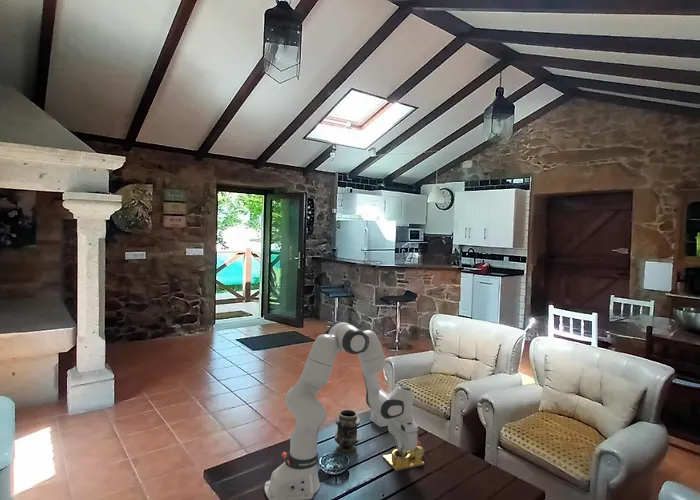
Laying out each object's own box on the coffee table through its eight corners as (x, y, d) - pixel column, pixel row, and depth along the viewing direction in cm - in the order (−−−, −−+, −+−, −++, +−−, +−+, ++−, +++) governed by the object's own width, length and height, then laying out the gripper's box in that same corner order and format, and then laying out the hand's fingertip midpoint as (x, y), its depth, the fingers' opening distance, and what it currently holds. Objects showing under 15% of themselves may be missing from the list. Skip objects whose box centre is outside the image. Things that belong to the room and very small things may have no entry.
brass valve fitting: (395, 471, 195) (396, 454, 194) (382, 457, 206) (383, 441, 205) (428, 463, 202) (429, 447, 202) (414, 451, 213) (415, 435, 212)
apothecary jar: (358, 456, 206) (360, 419, 205) (333, 455, 206) (334, 417, 205) (358, 443, 218) (360, 408, 217) (334, 442, 218) (335, 407, 217)
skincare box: (390, 425, 239) (391, 406, 239) (380, 427, 236) (381, 408, 236) (379, 417, 249) (380, 399, 248) (369, 419, 245) (370, 401, 245)
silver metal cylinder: (399, 460, 200) (400, 439, 199) (395, 455, 204) (395, 435, 203) (406, 458, 202) (407, 437, 201) (402, 454, 205) (403, 433, 205)
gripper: (385, 412, 210) (384, 440, 211) (408, 431, 191) (406, 462, 192) (397, 410, 212) (395, 438, 213) (420, 429, 194) (419, 459, 195)
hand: (401, 449), depth 202 cm, fingers closed on silver metal cylinder, 4 cm apart
